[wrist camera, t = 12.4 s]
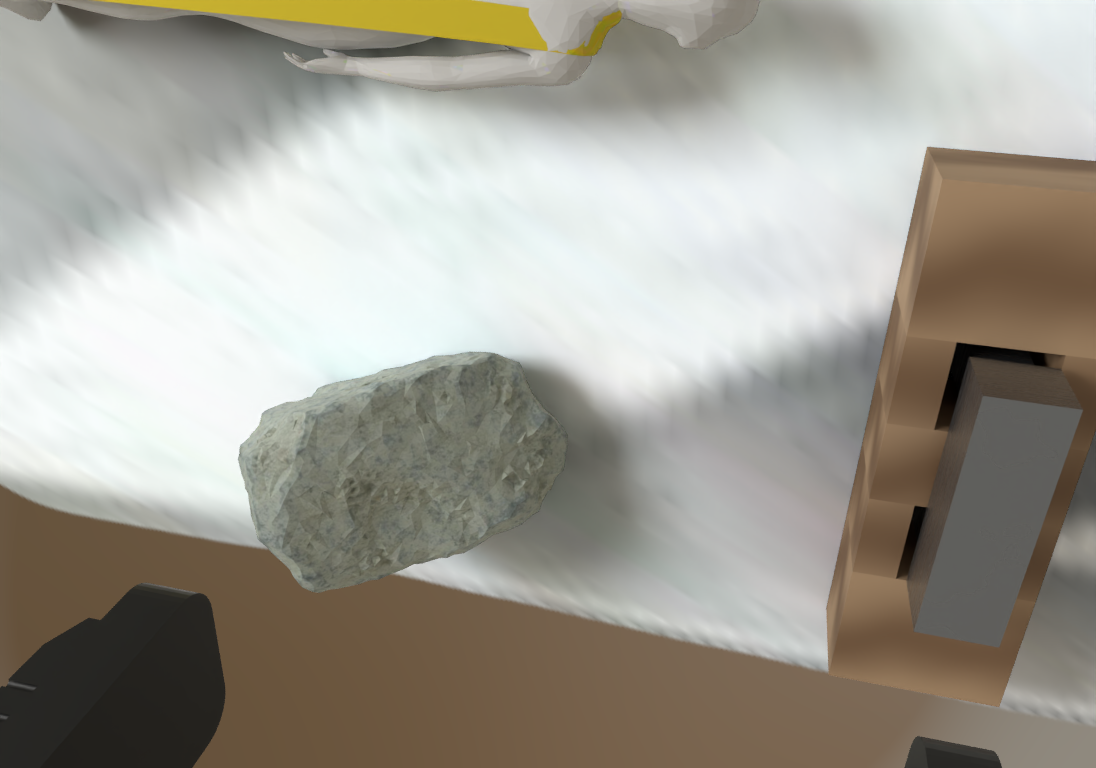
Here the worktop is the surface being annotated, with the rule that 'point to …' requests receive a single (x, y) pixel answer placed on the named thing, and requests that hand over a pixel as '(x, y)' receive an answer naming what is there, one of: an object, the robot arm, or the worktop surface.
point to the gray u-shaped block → (989, 492)
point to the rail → (929, 398)
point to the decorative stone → (399, 467)
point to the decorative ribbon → (444, 32)
